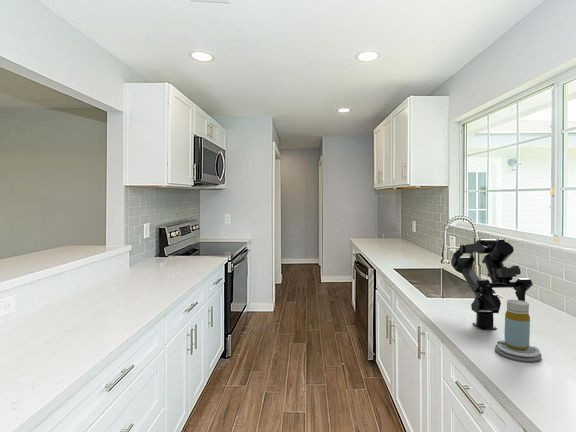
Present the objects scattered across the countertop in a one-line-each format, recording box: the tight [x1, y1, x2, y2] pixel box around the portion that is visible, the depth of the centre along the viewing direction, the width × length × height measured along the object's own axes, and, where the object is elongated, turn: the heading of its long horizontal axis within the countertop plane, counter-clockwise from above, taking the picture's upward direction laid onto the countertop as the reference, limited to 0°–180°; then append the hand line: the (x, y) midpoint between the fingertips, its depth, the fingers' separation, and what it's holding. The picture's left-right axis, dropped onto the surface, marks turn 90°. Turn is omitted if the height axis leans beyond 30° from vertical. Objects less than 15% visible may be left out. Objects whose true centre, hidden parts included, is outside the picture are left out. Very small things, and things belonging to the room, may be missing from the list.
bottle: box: [503, 299, 531, 350], centre depth 120 cm, size 7×7×15 cm
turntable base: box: [494, 344, 542, 364], centre depth 120 cm, size 13×13×7 cm
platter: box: [496, 339, 541, 358], centre depth 120 cm, size 12×12×1 cm
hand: (510, 307), depth 127 cm, fingers open, 9 cm apart
